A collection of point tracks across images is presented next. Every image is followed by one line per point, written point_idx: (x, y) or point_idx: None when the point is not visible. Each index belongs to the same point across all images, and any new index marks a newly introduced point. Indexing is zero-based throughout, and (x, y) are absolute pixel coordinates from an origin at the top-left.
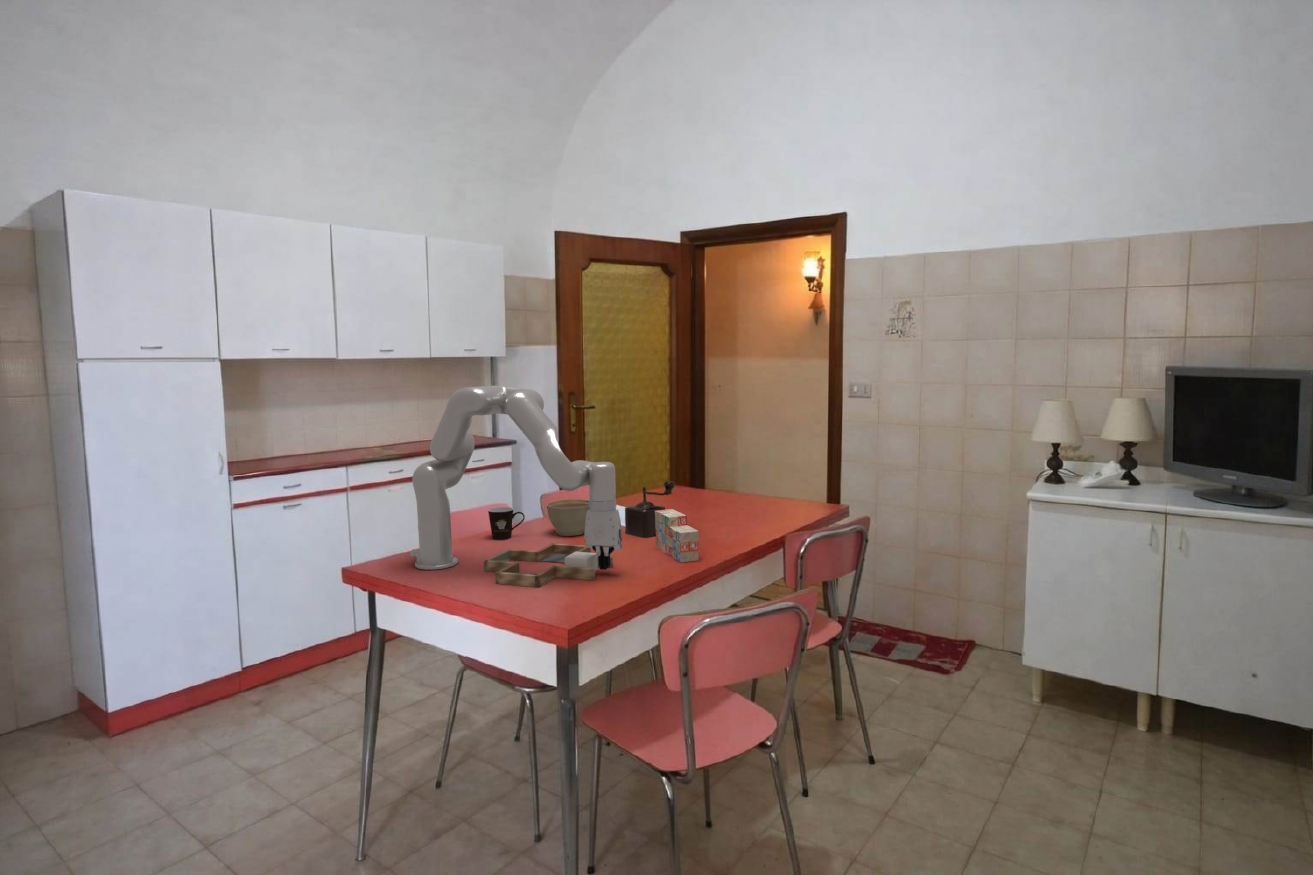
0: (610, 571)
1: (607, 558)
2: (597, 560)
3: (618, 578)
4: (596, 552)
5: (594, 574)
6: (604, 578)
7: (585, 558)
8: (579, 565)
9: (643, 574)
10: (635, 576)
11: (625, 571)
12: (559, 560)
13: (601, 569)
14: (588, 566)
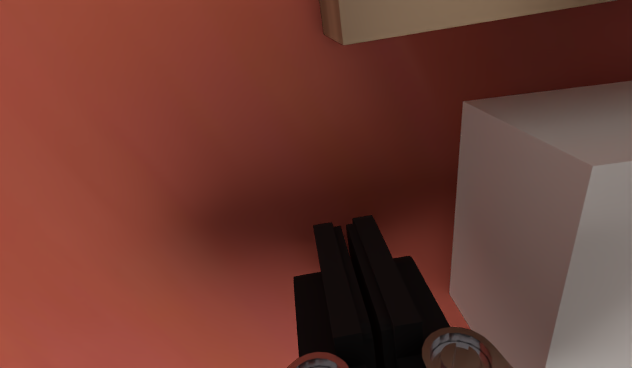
0: None
1: (305, 341)
2: None
3: (120, 163)
4: (508, 366)
5: (329, 15)
6: (249, 102)
7: (619, 204)
8: (623, 117)
9: (19, 343)
10: (30, 277)
11: (212, 341)
12: None
13: (354, 218)
14: (505, 173)
